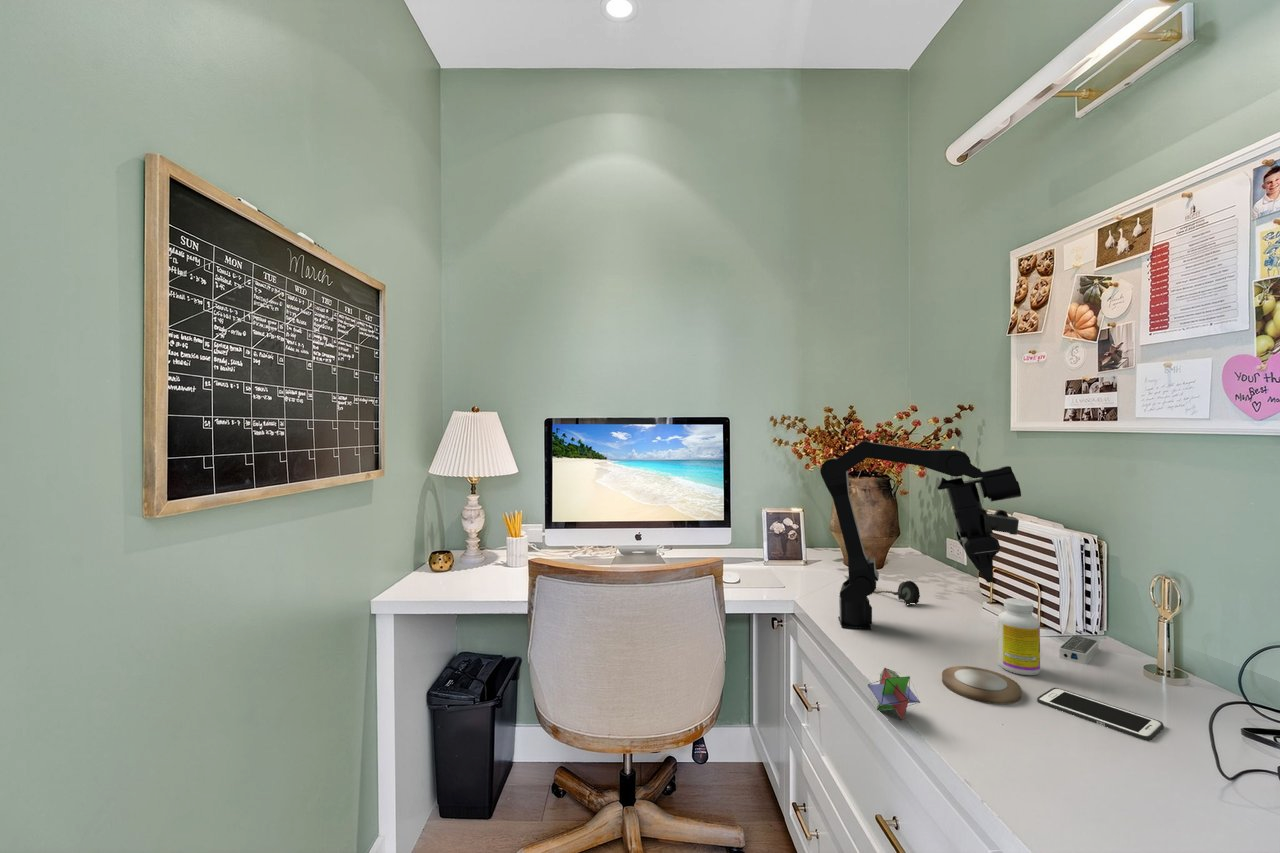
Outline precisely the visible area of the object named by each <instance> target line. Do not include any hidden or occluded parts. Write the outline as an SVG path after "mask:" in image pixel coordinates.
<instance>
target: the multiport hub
mask: <svg viewBox="0 0 1280 853" xmlns="http://www.w3.org/2000/svg"><path fill="white" fill-rule="evenodd" d="M1098 652H1099V641H1098V640H1096V639H1092V638H1087V637H1082V636H1078V635H1071V636H1069V638H1068V639H1066V641H1065V642H1063V643H1062V644H1061V645H1060V646H1059V647H1058V654H1059V655H1058V658H1059V659H1063V660H1067V661H1071V662H1074V663H1079V664H1083V665H1087V664H1089V662H1090V661H1091V660H1092V658H1094V656H1095V655H1097V653H1098Z"/></svg>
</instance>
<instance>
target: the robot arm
mask: <svg viewBox="0 0 1280 853" xmlns="http://www.w3.org/2000/svg"><path fill="white" fill-rule="evenodd" d="M865 459H874V460H881V461H886V462H887V461H888V462H893V463H900V464H905V465H906V464H907V465H911V466H913V465H914V466H919V467H922V468H923V467H924V468H925V469H929V470H932V471H935V472H938V473H941V474H944V475H947V476H951V477H956V478H952V479H951V478H950V479H946V478H945V477H941V478H940V481H939V482H938V484H937V485H936V489H937V490H939V491H941V490H945V489H946V491H947V494H948V498H949V501H950V505H951V509H952V515H953V518H954V520H955V524H956V528H955V530H954V533H955V535H956V536H955V537H956V539H957V540H958V542H959V544H960V546H961V547H962V549H963V551H964V552H965V554H966V556H967V558H968V559H969V560H970V561H971V563H972V564H973V566H974V567H975V568H976V569H977V571H978V572H979V573H980V575H981V577H983V579H984V580H985V582H986V583H988V584H990V583H993V582H994V565H993V564H994V557H995V556H996V555H997V554H998V553H1000V551H1001V546H1000V542H999V539H998V538H997V537H995V536H994V535H992V534H994V532H993V531H995V532H1000V533H1001V532H1002V533H1007V534H1010V535H1014V536H1015V535H1016V536H1017V535H1018V531H1019V522H1020V521H1019V519H1018V518H1017V517H1014V516H1009V515H1008V512H1007V511H1006V510H1002V509H996V511H995V512H994V513H988V512H987V510H986V509H985V508H984V507H983V505H982V501H981V497H980V494H981V496H982V498H983V499H986V498H987V499H989V501H990V502H991V503H992V502H997V501H1004V500H1010V499H1015V498H1021V497H1022V490H1021V487H1020V484H1019V481H1018V480H1017V478H1016V475H1015V473H1014V472H1013V469H1012V466H1011V465H1004V466H1002V467H998V468H995V469H989V470H988V469H987V470H983V471H981V468H979V467H976V466H975V465H973V464H972V463H971V459H970V457H969V456H968V454H967V453H966V452H964V451H961V450H958V449H955V448H954V449H949V448H948V449H945V448H944V449H942V448H941V449H940V448H939V449H921V448H920V449H919V448H911V447H907V446H906V447H905V446H897V445H890V444H884V443H877V442H871V441H869V440H862V441H859V442H858V443H857V444H856V446H855V445H854V447H852V448H851V449H849V450H848V451H846V452H845V453H843V454H842V455H840V456H839V457H832V458H829V459H826V460H825V461H824V462H823V463H822V465H821V466H820V476H821V478H822V480H823V482H824V484H825V487H826V488H827V490H828V492H829V494H830V495H831V498H832V500H833V504H834V508H835V512H836V516H837V519H838V522H839V523H838V524H839V527H840V532H841V535H842V538H843V542H844V546H845V550H846V554H847V564H848V565H847V566H848V568H847V569H848V571H847V572H848V576H849V579H848V580H847V579H846V580H845V581H844V582H843V583H842V584H841V585H842V587H841V588H840V590H839V596H838V597H839V599H838V600H839V601H838V602H839V616H838V617H837V618H838V622H839V624H840V627H841V628H844V629H845V628H847V629H861V630H871V629H872V626H871V625H872V624H873V607H872V605H871V604H870V599H869V598H868V596H870V595H872V594H873V593H874V591H876V589H877V582H879V579H880V578H879V577H880V573H879V571H878V570H877V568H876V560H875V559H876V558H875V557H874V556H873V557H871V558H869V557H868V556H867V553H866V551H865V549H864V544H863V541H862V538H861V537H862V536H861V534H860V530H859V525H858V522H857V519H856V514H855V511H854V506H853V503H852V500H851V496H850V495H851V494H850V480H849V470H851V469H852V468H854V467H855V466H857V465H858V464H860V463H861V462H863V461H864V460H865ZM962 476H966V477H968V478H971V480H964V479H963V478H962ZM977 484H978V487H979V491H980V494H979V491H978V487H977Z"/></svg>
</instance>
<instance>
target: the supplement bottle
mask: <svg viewBox="0 0 1280 853" xmlns="http://www.w3.org/2000/svg"><path fill="white" fill-rule="evenodd" d="M1003 607H1004V611H1002V612H1000V613H999V615H998V616H997V629H998V630H997V636H998V637H997V643H998V644H997V647H998V649H997V650H998V654H997V655H998V664H999V666H1000V667H1001V668H1002V669H1003V670H1005V671H1008V672H1010V673H1012V672H1013V673H1014V674H1017V675H1024V676H1034V675H1035V676H1036V675H1038V674H1039V673H1040V672H1041V638H1040V637H1041V632H1040V630H1041V625H1040V622H1039V619H1038V618H1037V617H1035V616H1034V615H1033V611H1034V603H1033V602H1031V601H1030V600H1029V601H1028V600H1025V599H1021V598H1012V597H1011V598H1009V597H1008V598H1005V599H1004V600H1003ZM1013 673H1012V674H1013Z"/></svg>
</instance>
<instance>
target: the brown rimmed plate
mask: <svg viewBox="0 0 1280 853" xmlns="http://www.w3.org/2000/svg"><path fill="white" fill-rule="evenodd" d="M941 681H942V682H941V683H942V684H943V686H944V687H946V688H947V689H948V690H950V691H951V692H953V693H955V694H957V695H959V696H962V697H963V698H966V699H970V700H974V701H978V702H982V703H988V704H995V705H1006V704H1007V705H1008V704H1014V703H1016V702H1019V701H1020V700H1021V698H1022V687H1021V685H1020V684H1019V683H1018V682H1017V681H1015V679H1012V678H1011V677H1009V676H1006V675H1004V674H1002V673H999V672H996V671H995V670H994V671H993V670H989V669H987V668H981V667H977V666H976V667H975V666H966V665H961V666H959V665H958V666H956V665H955V666H950V667H946V668H945V669H943V670H942V672H941Z"/></svg>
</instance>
